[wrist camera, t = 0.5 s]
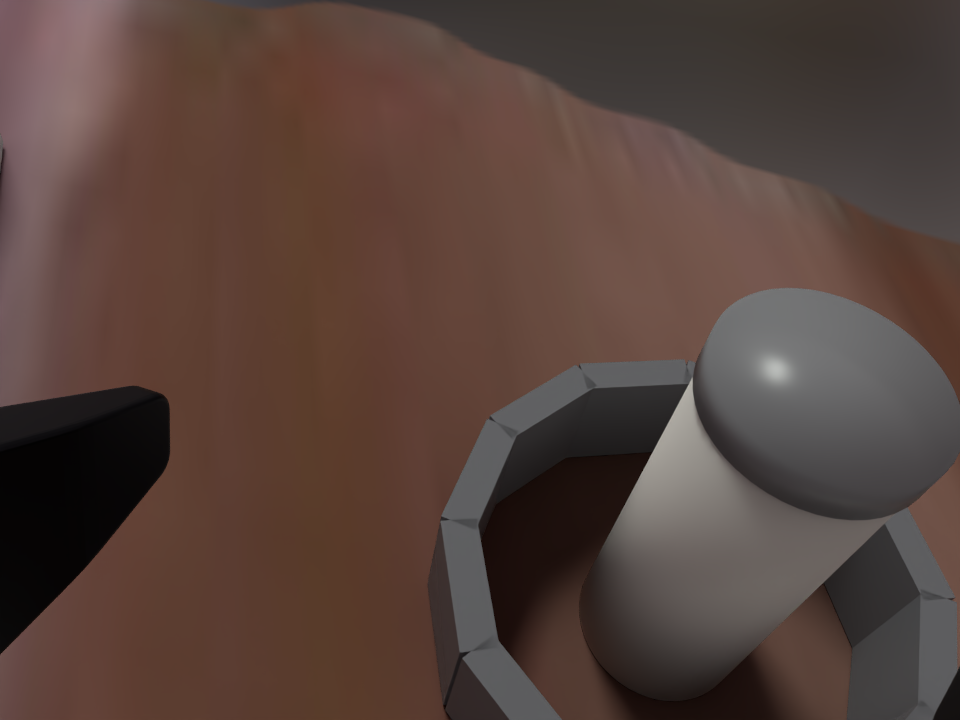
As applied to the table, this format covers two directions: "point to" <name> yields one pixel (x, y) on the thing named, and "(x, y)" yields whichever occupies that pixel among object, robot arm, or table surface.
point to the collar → (637, 429)
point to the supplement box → (0, 148)
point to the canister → (764, 485)
